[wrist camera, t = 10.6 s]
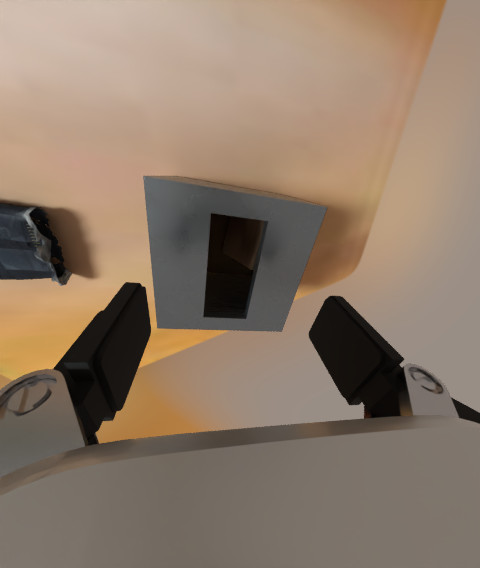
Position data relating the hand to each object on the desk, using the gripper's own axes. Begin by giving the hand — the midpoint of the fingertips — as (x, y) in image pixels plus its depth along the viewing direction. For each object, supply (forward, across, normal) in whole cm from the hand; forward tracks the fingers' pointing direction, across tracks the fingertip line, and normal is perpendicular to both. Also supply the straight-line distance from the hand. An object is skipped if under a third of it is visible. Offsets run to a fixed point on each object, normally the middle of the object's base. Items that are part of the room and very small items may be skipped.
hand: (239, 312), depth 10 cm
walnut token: (+15, -1, 0) cm, 15 cm away
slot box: (+15, 0, +1) cm, 15 cm away
